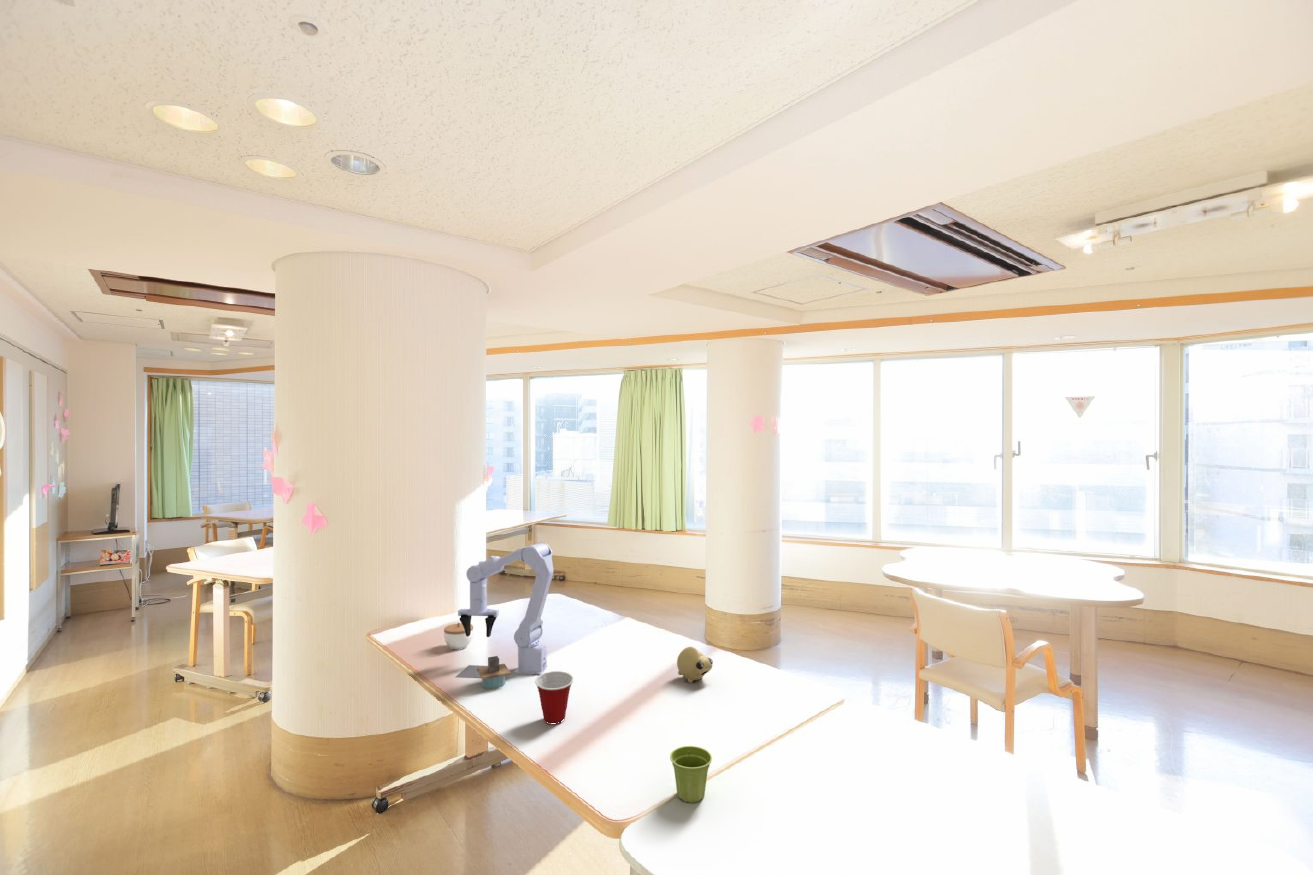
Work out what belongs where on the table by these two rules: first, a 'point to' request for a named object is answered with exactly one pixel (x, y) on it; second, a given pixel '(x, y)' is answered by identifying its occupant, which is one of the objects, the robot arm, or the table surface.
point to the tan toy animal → (693, 664)
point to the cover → (493, 669)
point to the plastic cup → (554, 694)
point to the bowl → (493, 682)
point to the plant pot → (690, 772)
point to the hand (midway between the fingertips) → (478, 635)
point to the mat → (470, 672)
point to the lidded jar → (457, 636)
